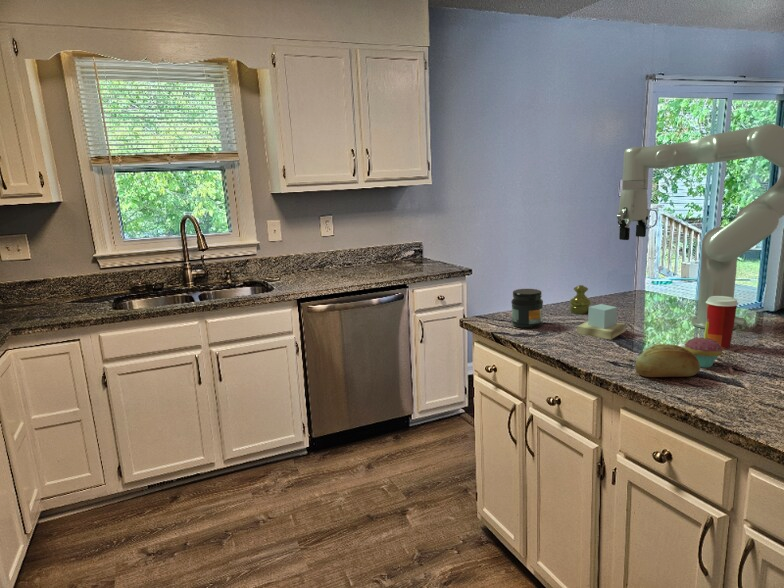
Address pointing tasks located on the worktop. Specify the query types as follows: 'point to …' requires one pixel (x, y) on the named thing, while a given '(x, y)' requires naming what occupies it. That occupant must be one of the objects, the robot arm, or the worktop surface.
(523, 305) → the supplement container
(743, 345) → the worktop surface
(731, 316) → the paper cup
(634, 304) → the worktop surface
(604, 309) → the blue cube
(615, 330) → the maple slab
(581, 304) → the olive pawn figure
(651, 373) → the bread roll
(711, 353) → the cupcake
